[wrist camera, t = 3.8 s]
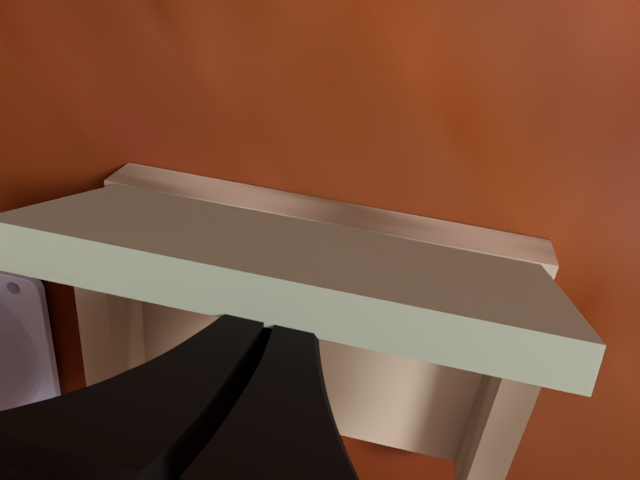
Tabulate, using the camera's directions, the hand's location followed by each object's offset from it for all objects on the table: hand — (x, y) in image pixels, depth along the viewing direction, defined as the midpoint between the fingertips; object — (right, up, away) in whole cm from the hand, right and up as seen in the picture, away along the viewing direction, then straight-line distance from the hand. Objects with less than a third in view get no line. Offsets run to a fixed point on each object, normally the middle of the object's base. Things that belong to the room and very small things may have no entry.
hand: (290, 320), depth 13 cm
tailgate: (+1, +2, +3) cm, 4 cm away
